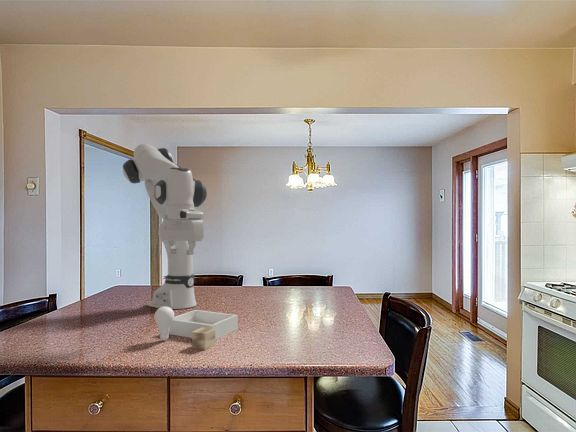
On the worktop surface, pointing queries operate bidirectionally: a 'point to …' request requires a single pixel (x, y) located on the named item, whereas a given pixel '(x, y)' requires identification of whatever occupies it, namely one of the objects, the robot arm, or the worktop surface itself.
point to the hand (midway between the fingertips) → (181, 254)
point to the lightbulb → (164, 321)
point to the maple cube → (203, 338)
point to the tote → (203, 323)
